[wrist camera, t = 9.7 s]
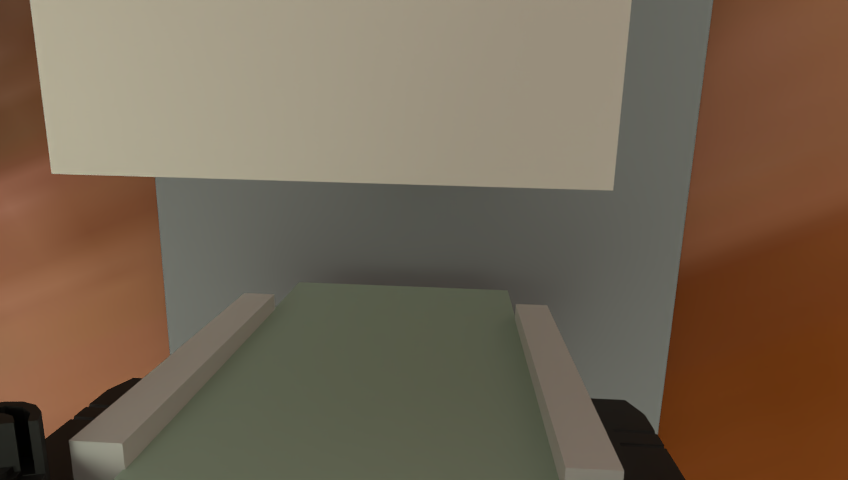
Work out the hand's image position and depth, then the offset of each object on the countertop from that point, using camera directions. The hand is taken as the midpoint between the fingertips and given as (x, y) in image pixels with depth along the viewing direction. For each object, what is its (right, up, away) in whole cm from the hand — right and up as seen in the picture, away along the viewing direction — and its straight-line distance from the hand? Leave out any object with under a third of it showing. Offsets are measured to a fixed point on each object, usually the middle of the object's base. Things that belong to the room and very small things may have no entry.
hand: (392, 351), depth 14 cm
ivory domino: (+1, +7, +4) cm, 8 cm away
